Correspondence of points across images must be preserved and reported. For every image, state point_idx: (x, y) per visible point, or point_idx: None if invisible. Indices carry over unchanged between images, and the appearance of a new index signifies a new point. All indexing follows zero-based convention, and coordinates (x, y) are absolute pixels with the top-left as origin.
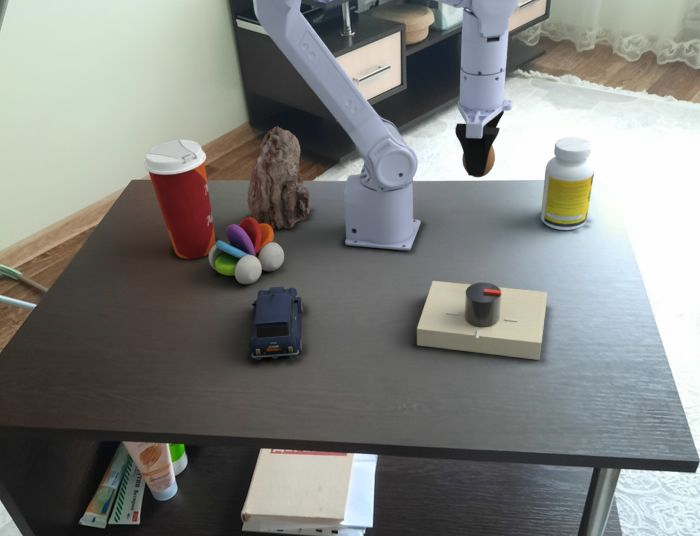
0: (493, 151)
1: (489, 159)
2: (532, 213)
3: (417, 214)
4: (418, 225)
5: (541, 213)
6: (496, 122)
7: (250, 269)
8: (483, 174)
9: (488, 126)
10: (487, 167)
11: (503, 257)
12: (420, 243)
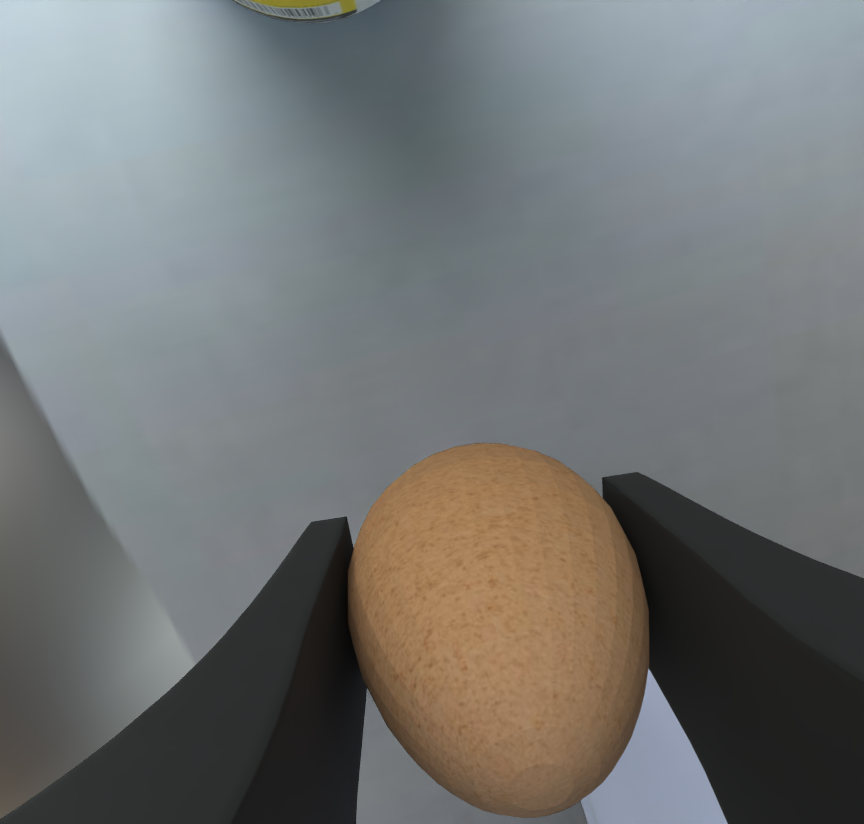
0: (512, 524)
1: (592, 508)
2: (270, 94)
3: None
4: None
5: (356, 8)
6: (270, 783)
7: None
8: (640, 474)
9: (308, 799)
10: (582, 479)
11: (769, 152)
12: None
